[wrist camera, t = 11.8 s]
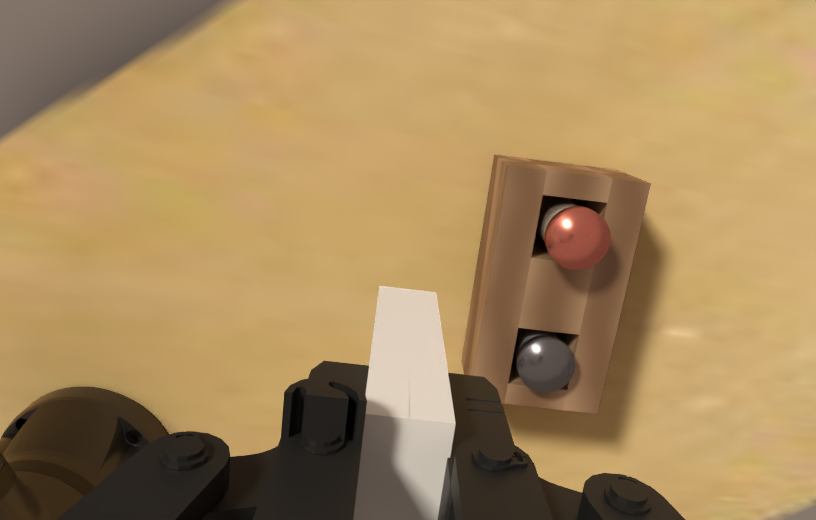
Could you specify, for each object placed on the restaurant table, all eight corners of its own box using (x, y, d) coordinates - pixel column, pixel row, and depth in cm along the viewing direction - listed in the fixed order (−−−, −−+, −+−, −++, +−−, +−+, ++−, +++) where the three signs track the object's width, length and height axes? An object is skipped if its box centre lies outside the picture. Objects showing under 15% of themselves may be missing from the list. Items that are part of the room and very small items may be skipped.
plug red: (522, 239, 49) (542, 266, 42) (531, 187, 48) (554, 205, 41) (574, 245, 49) (603, 273, 42) (584, 193, 48) (616, 212, 41)
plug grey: (498, 347, 53) (513, 389, 46) (507, 302, 52) (523, 336, 45) (547, 353, 53) (569, 395, 46) (556, 307, 52) (580, 343, 45)
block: (461, 360, 54) (469, 400, 47) (494, 154, 49) (508, 165, 43) (573, 373, 54) (597, 414, 48) (617, 170, 50) (650, 183, 43)
